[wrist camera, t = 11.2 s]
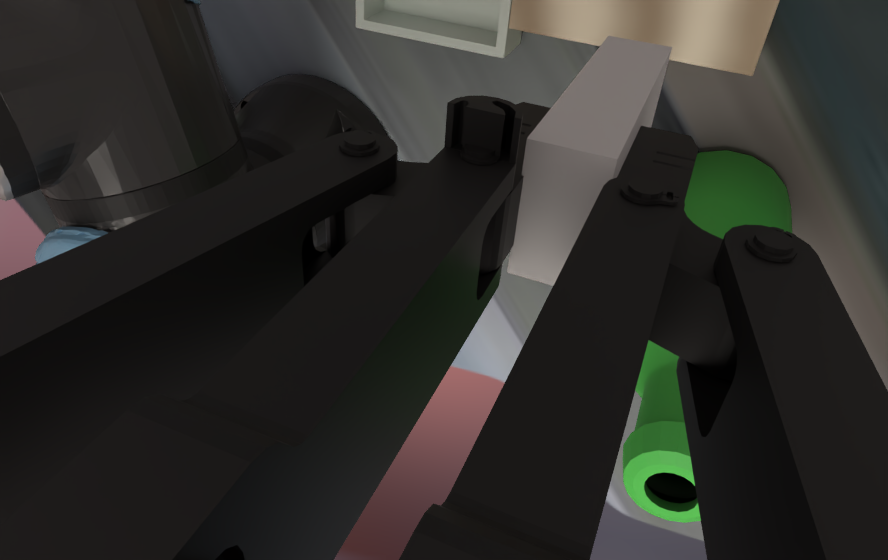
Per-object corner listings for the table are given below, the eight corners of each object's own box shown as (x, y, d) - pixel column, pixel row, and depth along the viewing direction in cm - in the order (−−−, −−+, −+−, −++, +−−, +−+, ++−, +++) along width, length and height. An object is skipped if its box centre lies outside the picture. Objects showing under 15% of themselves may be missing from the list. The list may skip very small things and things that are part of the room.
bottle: (656, 140, 44) (563, 386, 25) (803, 149, 41) (821, 438, 22) (646, 254, 49) (561, 532, 30) (776, 270, 46) (773, 592, 27)
